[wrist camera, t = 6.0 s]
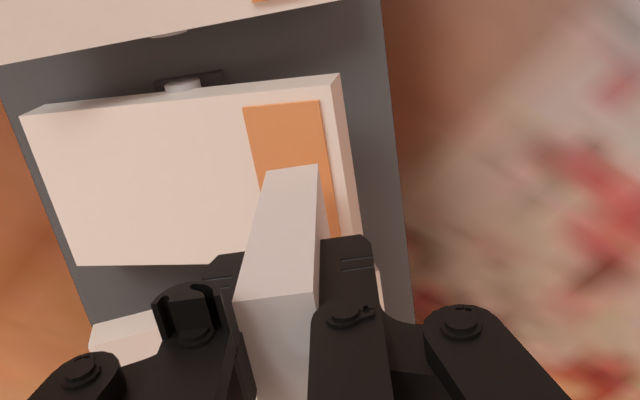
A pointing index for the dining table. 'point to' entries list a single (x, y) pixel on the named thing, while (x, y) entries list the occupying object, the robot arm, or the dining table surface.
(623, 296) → the dining table surface
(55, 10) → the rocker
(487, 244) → the dining table surface
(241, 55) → the power strip
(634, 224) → the dining table surface
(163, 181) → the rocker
